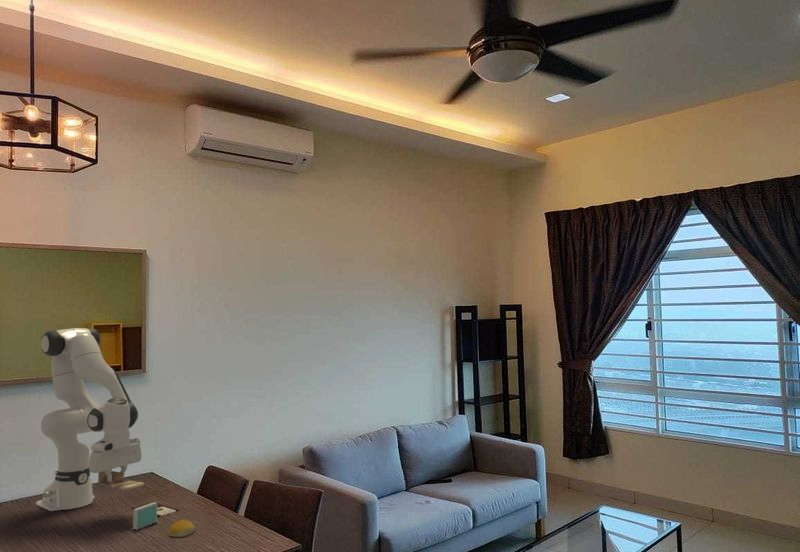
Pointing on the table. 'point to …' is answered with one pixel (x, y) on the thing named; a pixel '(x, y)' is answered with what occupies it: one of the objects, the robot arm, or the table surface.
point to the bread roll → (181, 528)
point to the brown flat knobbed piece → (118, 481)
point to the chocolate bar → (161, 509)
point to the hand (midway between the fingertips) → (115, 479)
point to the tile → (144, 515)
